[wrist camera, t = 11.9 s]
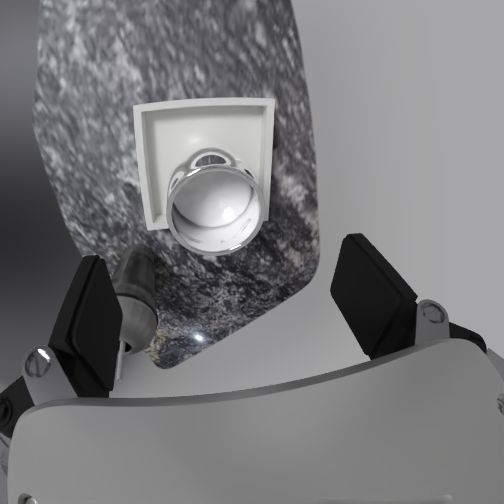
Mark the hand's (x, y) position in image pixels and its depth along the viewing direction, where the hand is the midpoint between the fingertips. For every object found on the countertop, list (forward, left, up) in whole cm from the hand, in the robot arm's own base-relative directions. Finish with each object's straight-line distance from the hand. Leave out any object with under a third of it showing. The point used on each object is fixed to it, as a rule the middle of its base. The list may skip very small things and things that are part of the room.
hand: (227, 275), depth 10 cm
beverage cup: (+14, -10, -24) cm, 30 cm away
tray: (+1, 0, -24) cm, 24 cm away
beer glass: (+1, 0, -23) cm, 23 cm away
